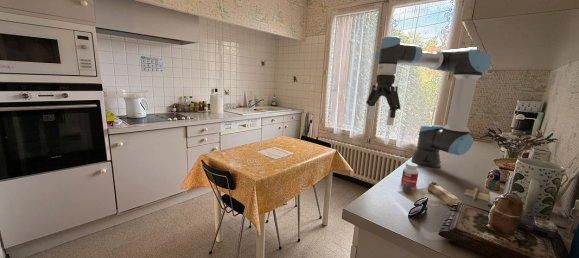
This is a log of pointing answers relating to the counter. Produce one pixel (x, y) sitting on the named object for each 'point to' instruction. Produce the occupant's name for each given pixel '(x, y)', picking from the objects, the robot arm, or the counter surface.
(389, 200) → the counter surface
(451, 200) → the leg bar
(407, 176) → the pill bottle
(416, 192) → the board
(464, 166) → the counter surface
